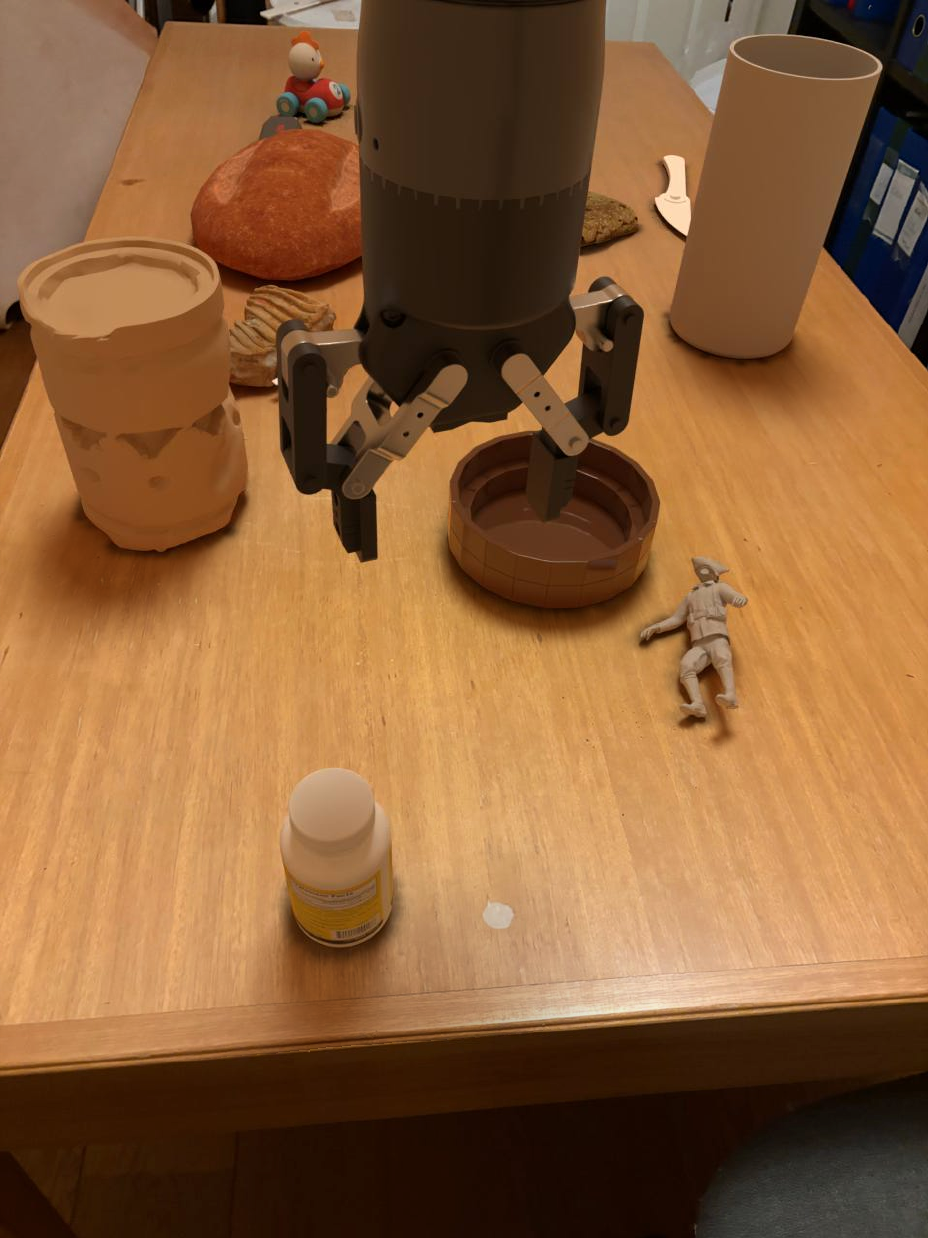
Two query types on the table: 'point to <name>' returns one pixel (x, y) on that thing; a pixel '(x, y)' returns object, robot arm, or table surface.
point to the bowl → (551, 525)
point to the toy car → (310, 84)
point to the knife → (675, 195)
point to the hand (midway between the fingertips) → (455, 529)
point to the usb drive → (278, 125)
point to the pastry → (606, 219)
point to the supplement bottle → (337, 858)
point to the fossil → (270, 332)
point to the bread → (283, 207)
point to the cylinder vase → (769, 189)
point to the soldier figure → (705, 633)
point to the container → (140, 385)
